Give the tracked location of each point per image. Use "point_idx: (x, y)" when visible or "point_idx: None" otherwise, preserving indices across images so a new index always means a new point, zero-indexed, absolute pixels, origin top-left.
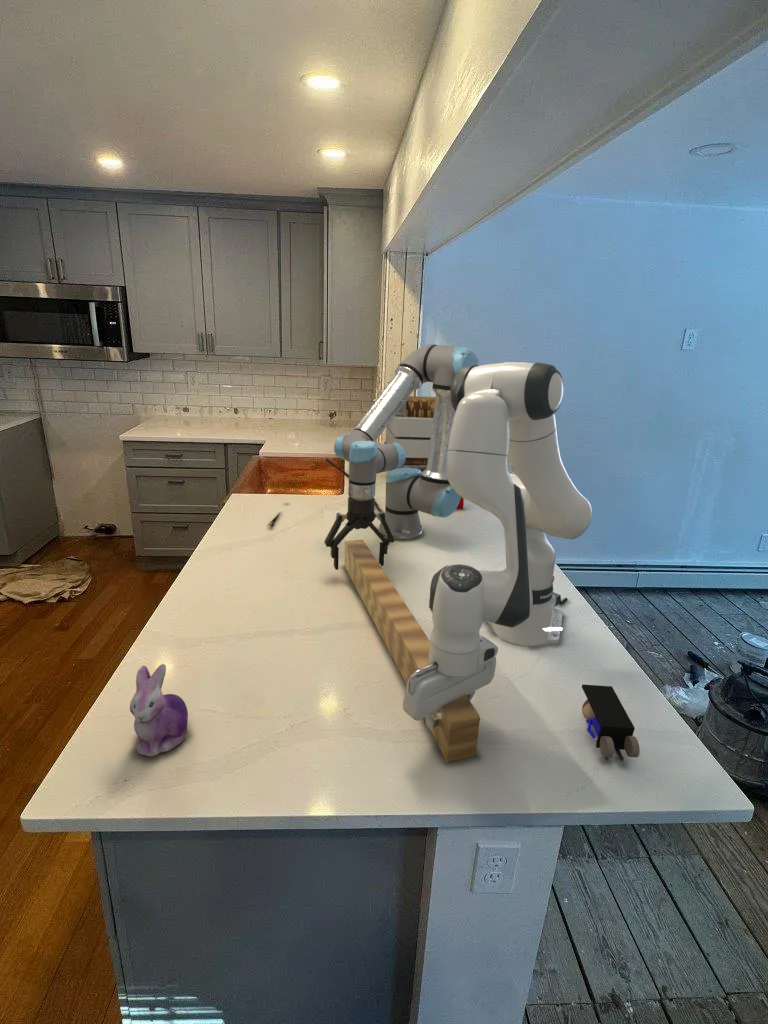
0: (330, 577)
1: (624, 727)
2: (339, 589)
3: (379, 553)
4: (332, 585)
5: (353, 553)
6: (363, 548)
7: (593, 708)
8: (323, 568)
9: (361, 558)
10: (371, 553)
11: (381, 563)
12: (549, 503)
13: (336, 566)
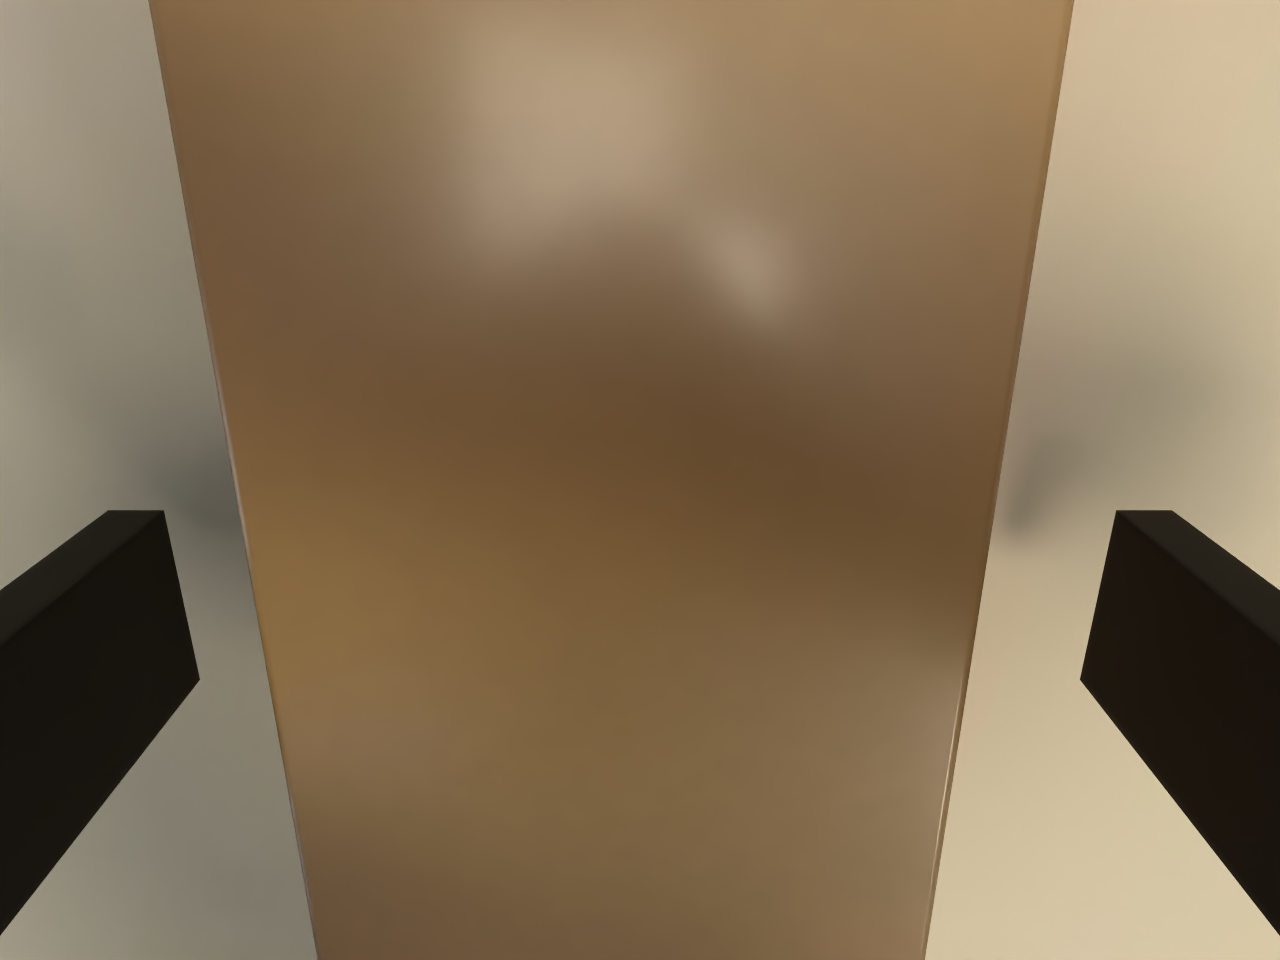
0: (1076, 567)
1: None
2: (1104, 107)
3: (70, 805)
4: (1158, 290)
5: (933, 668)
6: (487, 943)
7: None
8: (1063, 837)
9: (788, 163)
10: (273, 556)
11: (125, 537)
12: None
13: (1200, 542)
